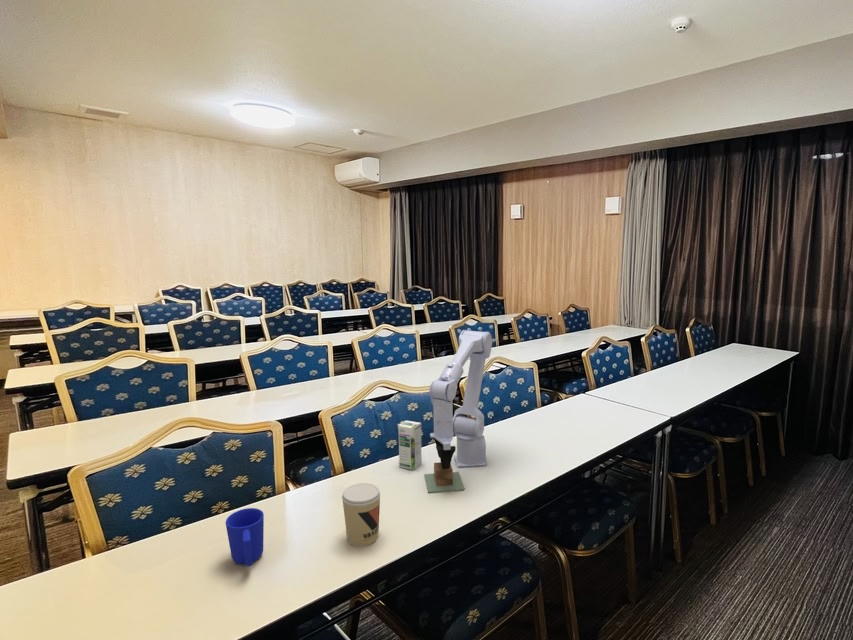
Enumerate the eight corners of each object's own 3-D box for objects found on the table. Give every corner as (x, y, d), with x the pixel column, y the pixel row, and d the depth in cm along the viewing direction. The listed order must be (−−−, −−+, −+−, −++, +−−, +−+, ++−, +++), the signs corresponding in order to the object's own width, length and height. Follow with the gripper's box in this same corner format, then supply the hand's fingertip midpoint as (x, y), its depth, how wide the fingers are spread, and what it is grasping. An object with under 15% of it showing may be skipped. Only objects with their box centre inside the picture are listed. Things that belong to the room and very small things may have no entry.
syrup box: (398, 467, 152) (397, 425, 150) (407, 460, 157) (406, 419, 155) (413, 471, 150) (412, 428, 147) (422, 463, 155) (421, 421, 153)
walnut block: (450, 476, 144) (449, 461, 144) (452, 484, 139) (452, 469, 139) (434, 478, 144) (433, 462, 143) (436, 486, 139) (436, 470, 138)
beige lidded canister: (365, 553, 109) (363, 506, 107) (335, 540, 114) (333, 495, 112) (389, 532, 117) (387, 488, 115) (360, 521, 122) (358, 479, 120)
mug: (229, 584, 100) (225, 541, 98) (228, 551, 111) (225, 512, 109) (269, 573, 103) (266, 531, 101) (265, 542, 114) (262, 504, 112)
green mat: (458, 472, 148) (458, 471, 148) (465, 490, 137) (465, 489, 137) (424, 475, 146) (424, 474, 146) (428, 493, 136) (428, 491, 136)
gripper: (427, 412, 145) (428, 453, 147) (433, 429, 131) (433, 474, 133) (449, 410, 146) (450, 451, 148) (457, 428, 132) (458, 473, 134)
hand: (443, 462), depth 141 cm, fingers open, 7 cm apart
